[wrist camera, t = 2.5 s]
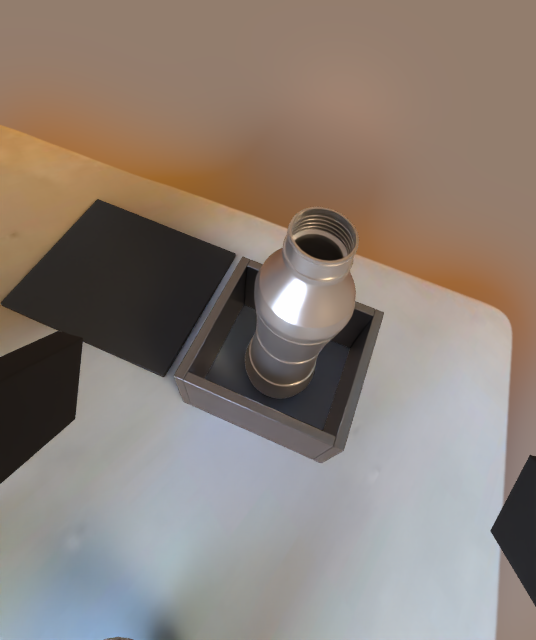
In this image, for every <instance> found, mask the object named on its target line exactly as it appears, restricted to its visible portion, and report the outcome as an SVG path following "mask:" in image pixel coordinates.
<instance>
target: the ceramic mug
mask: <svg viewBox="0 0 536 640" xmlns="http://www.w3.org/2000/svg"><path fill="white" fill-rule="evenodd" d="M105 640H133V639H129V638H121V637H115V638H108V639H105Z"/></svg>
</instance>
